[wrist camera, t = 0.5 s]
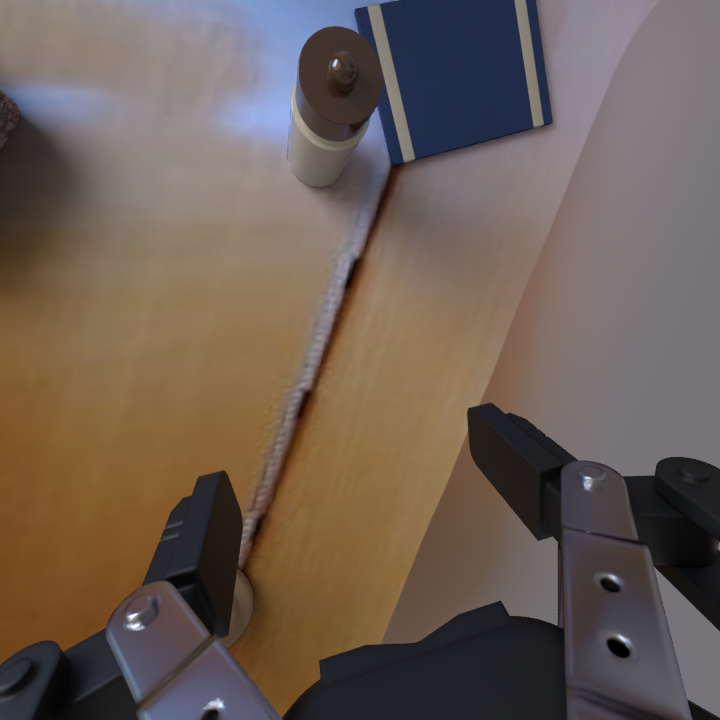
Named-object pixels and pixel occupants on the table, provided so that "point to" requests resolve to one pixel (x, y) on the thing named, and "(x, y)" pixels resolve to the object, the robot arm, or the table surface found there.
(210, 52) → the table surface
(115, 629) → the robot arm
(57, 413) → the table surface
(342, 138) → the pepper mill
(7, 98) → the geological specimen
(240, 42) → the table surface
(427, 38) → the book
